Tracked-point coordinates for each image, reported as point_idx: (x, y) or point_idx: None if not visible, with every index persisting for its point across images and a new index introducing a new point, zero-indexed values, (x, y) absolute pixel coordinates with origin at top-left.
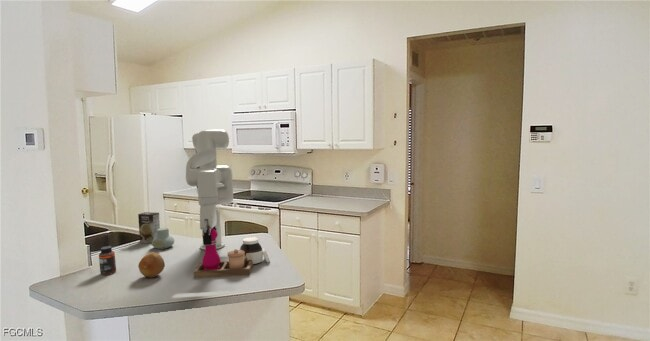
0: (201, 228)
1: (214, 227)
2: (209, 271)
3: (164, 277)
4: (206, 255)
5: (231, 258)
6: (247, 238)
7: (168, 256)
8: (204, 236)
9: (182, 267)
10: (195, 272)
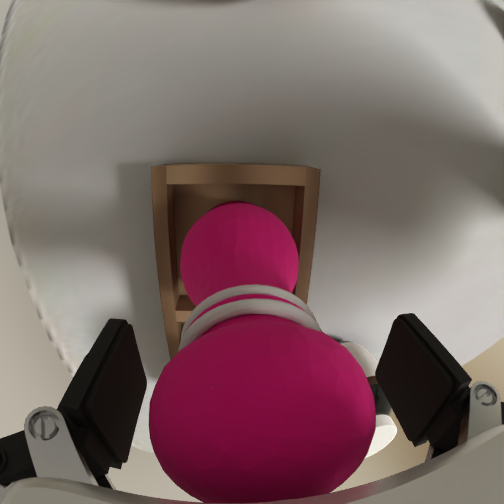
0: (19, 493)
1: (435, 438)
2: (156, 256)
3: (241, 12)
4: (198, 263)
5: None
6: (384, 434)
7: (475, 38)
8: (77, 404)
9: (371, 70)
10: (152, 176)
